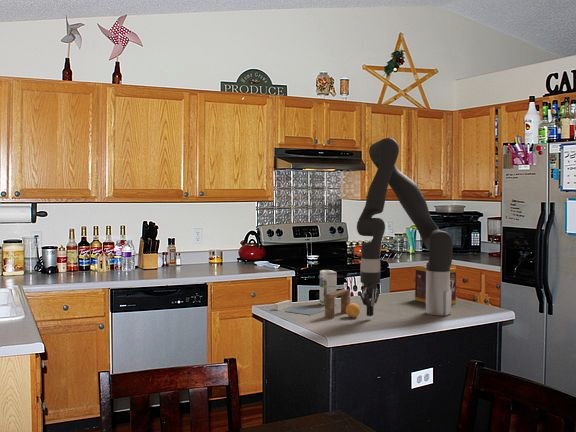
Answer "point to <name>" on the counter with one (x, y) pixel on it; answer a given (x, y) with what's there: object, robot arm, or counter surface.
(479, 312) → the counter surface
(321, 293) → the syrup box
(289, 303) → the beige thin bar
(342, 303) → the bridge
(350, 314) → the ball
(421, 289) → the supplement box
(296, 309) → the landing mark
